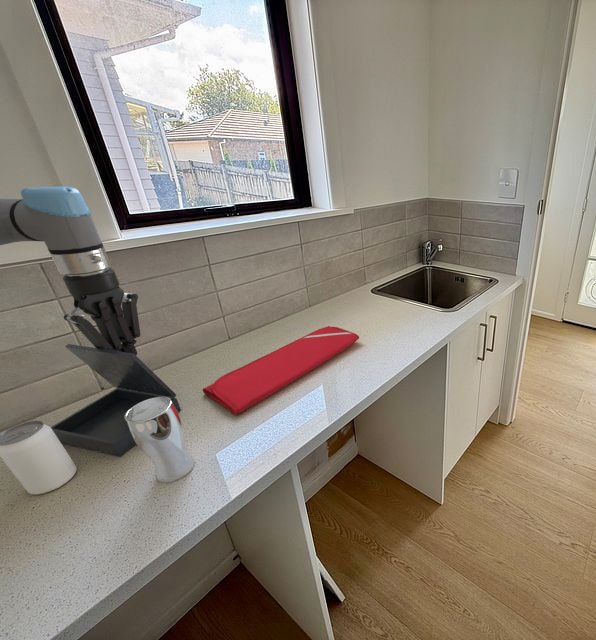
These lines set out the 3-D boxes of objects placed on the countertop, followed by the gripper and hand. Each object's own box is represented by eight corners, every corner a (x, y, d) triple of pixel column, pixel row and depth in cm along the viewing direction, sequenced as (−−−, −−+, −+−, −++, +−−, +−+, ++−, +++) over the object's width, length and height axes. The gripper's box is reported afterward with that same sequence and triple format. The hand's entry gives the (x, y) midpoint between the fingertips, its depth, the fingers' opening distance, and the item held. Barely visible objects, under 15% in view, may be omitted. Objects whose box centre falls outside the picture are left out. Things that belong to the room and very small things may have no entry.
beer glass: (160, 460, 66) (131, 400, 60) (201, 450, 68) (177, 392, 62) (148, 489, 60) (115, 427, 54) (193, 478, 63) (166, 416, 56)
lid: (130, 356, 67) (134, 353, 67) (64, 346, 70) (68, 343, 71) (174, 397, 77) (177, 395, 78) (115, 387, 81) (117, 384, 81)
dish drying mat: (202, 393, 85) (198, 381, 83) (327, 331, 115) (326, 321, 114) (236, 418, 77) (232, 405, 75) (361, 344, 108) (360, 334, 106)
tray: (120, 457, 67) (113, 443, 65) (54, 442, 70) (46, 429, 69) (181, 410, 79) (176, 398, 78) (123, 399, 83) (117, 387, 81)
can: (83, 475, 63) (52, 427, 58) (34, 502, 58) (-5, 453, 53) (71, 460, 66) (40, 413, 61) (23, 485, 61) (-14, 436, 56)
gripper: (64, 283, 59) (117, 390, 70) (135, 263, 71) (172, 357, 81) (31, 280, 61) (88, 385, 71) (107, 260, 72) (146, 353, 82)
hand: (133, 370), depth 76 cm, fingers closed
